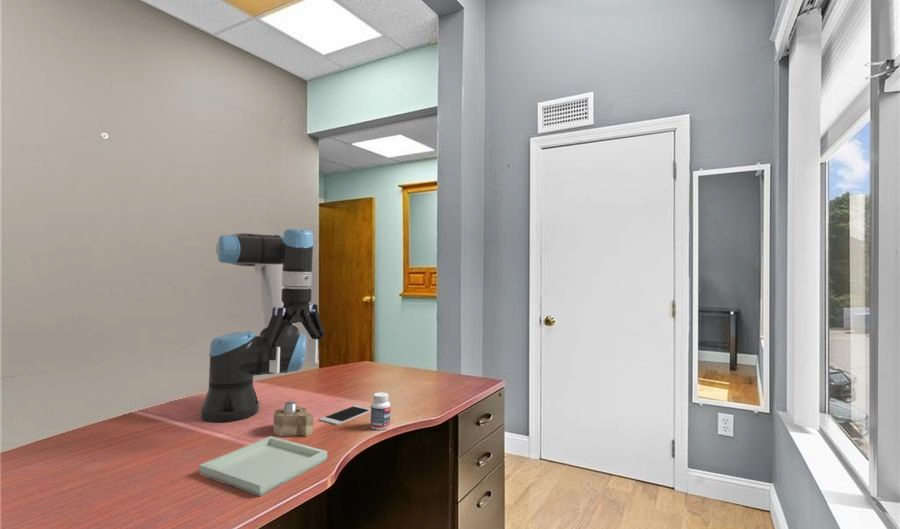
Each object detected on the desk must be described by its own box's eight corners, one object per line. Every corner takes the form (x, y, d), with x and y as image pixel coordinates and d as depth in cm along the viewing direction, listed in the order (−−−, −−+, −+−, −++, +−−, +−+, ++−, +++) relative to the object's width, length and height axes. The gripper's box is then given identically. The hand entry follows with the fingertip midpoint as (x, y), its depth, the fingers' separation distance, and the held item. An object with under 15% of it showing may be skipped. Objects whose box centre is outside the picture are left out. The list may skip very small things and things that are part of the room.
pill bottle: (385, 431, 116) (386, 397, 116) (367, 429, 117) (368, 396, 117) (392, 424, 121) (393, 392, 121) (374, 422, 122) (375, 391, 122)
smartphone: (318, 421, 123) (318, 418, 123) (355, 407, 137) (355, 404, 137) (337, 426, 120) (337, 423, 120) (373, 411, 133) (373, 408, 133)
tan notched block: (267, 432, 113) (267, 413, 113) (290, 423, 120) (291, 404, 121) (297, 440, 108) (298, 420, 109) (320, 430, 116) (321, 411, 116)
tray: (199, 474, 90) (199, 464, 90) (270, 444, 106) (270, 436, 106) (260, 496, 82) (260, 485, 82) (327, 460, 98) (327, 451, 98)
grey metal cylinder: (282, 431, 114) (282, 403, 115) (290, 427, 117) (291, 400, 117) (289, 432, 113) (290, 405, 113) (297, 429, 116) (298, 402, 116)
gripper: (269, 290, 103) (267, 379, 103) (338, 286, 126) (336, 360, 126) (247, 288, 106) (244, 375, 106) (318, 285, 129) (316, 357, 129)
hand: (294, 367), depth 116 cm, fingers open, 13 cm apart
